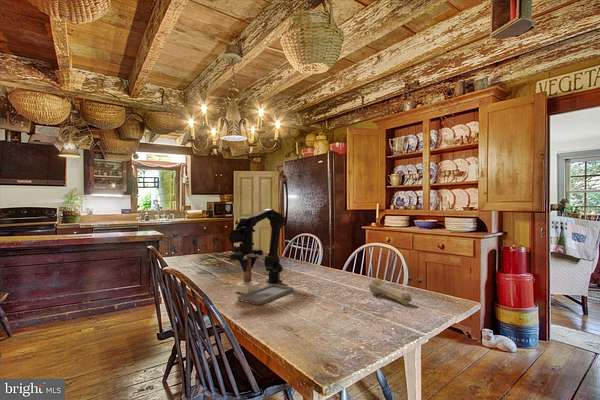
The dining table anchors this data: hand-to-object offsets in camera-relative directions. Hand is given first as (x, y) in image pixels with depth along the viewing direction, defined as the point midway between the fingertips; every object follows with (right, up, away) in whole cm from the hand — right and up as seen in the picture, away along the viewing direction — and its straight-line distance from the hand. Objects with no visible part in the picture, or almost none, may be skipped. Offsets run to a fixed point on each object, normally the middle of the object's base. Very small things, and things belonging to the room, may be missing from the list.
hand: (247, 270), depth 161 cm
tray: (+11, -11, -7) cm, 17 cm away
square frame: (0, -11, 0) cm, 11 cm away
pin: (0, -6, 0) cm, 6 cm away
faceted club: (+70, -10, -15) cm, 72 cm away
